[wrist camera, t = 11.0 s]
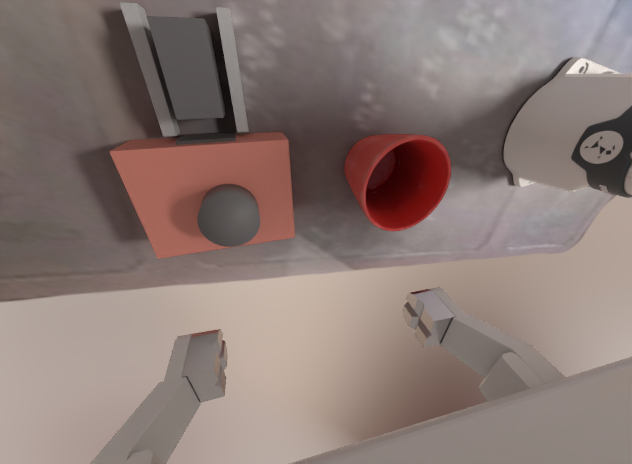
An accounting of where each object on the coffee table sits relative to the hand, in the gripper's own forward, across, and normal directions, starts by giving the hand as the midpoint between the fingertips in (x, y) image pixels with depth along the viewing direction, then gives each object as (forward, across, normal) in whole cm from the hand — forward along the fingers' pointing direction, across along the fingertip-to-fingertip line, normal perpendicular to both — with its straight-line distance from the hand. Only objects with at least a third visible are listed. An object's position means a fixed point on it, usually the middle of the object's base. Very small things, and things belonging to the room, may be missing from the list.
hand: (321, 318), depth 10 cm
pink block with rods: (+24, +7, -2) cm, 25 cm away
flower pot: (+25, -13, +2) cm, 28 cm away
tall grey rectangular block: (+24, +7, -9) cm, 27 cm away
